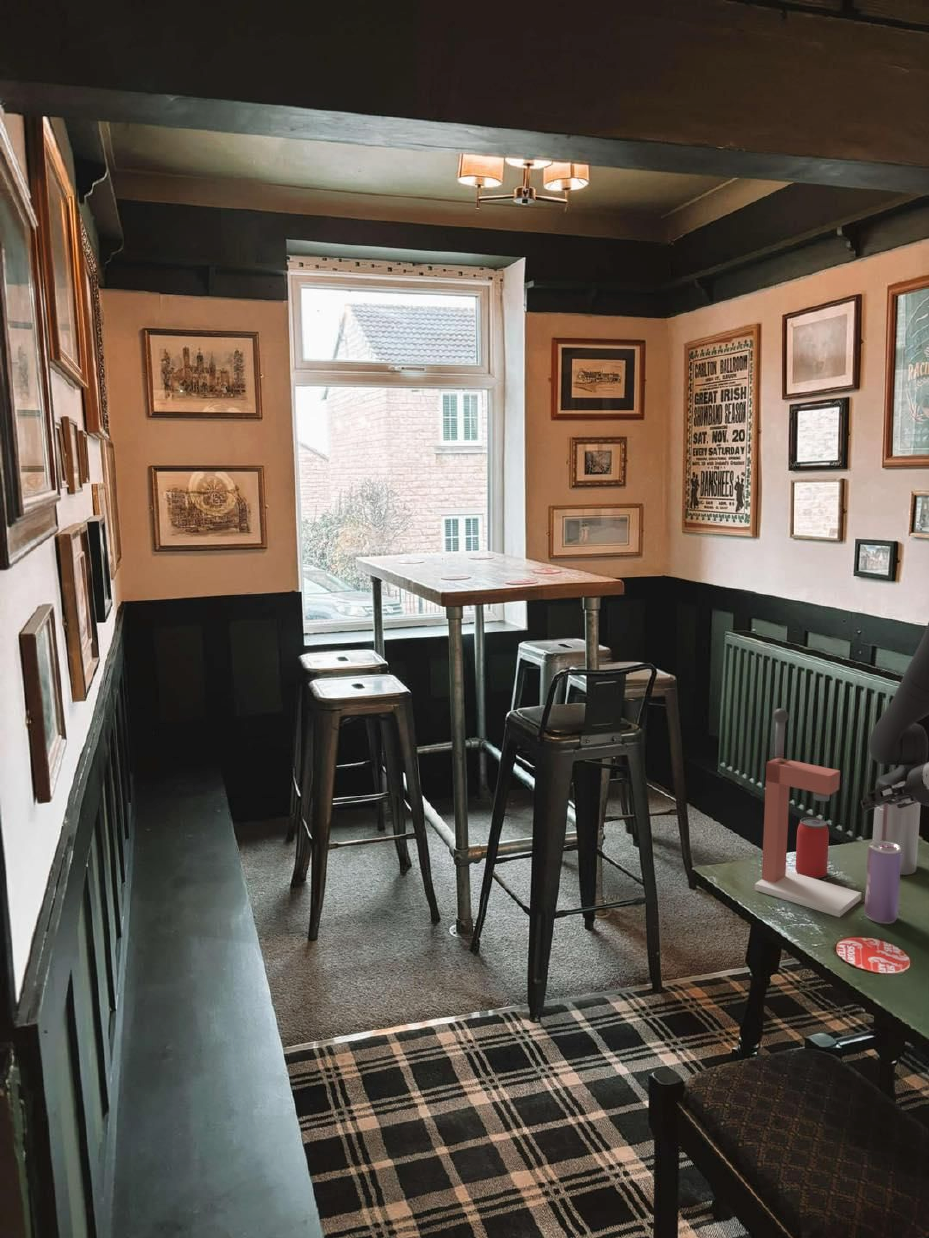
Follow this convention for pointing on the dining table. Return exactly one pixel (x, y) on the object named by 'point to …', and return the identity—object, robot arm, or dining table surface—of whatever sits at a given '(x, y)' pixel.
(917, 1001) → the dining table surface
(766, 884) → the bench press
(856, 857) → the dining table surface
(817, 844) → the beer can
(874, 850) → the beverage can
